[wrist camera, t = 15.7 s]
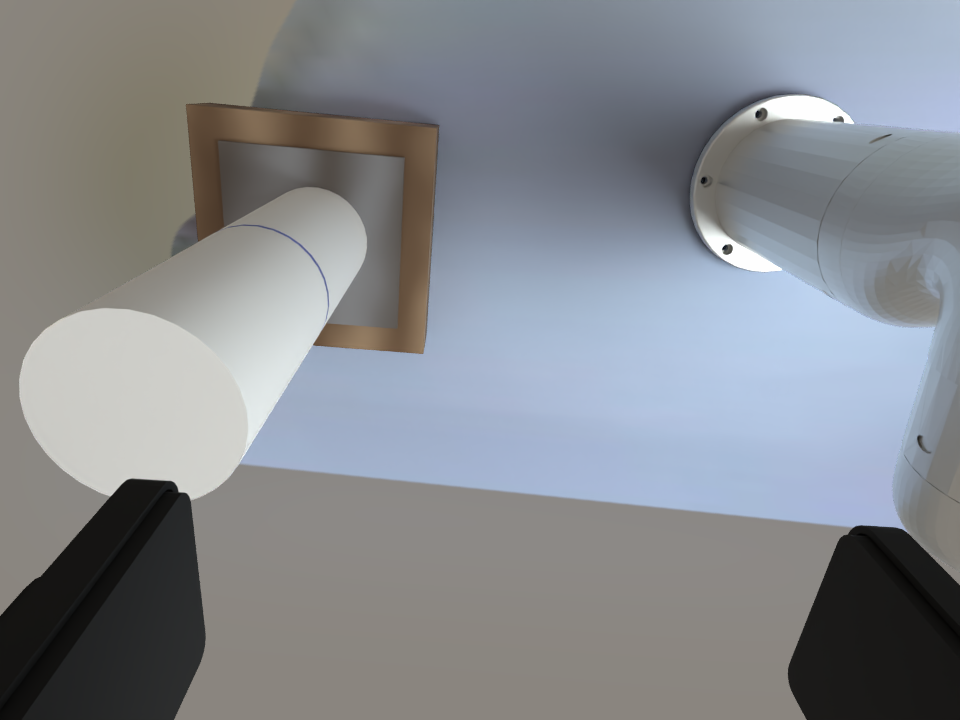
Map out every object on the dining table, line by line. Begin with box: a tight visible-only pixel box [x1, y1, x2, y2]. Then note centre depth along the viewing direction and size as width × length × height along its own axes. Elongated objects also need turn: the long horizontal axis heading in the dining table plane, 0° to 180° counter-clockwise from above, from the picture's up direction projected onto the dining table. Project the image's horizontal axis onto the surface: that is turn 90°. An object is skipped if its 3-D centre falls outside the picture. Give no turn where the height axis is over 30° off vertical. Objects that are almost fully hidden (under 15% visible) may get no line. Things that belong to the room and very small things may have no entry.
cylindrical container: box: [19, 187, 367, 500], centre depth 31 cm, size 7×7×25 cm
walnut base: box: [186, 103, 439, 354], centre depth 45 cm, size 16×16×4 cm
